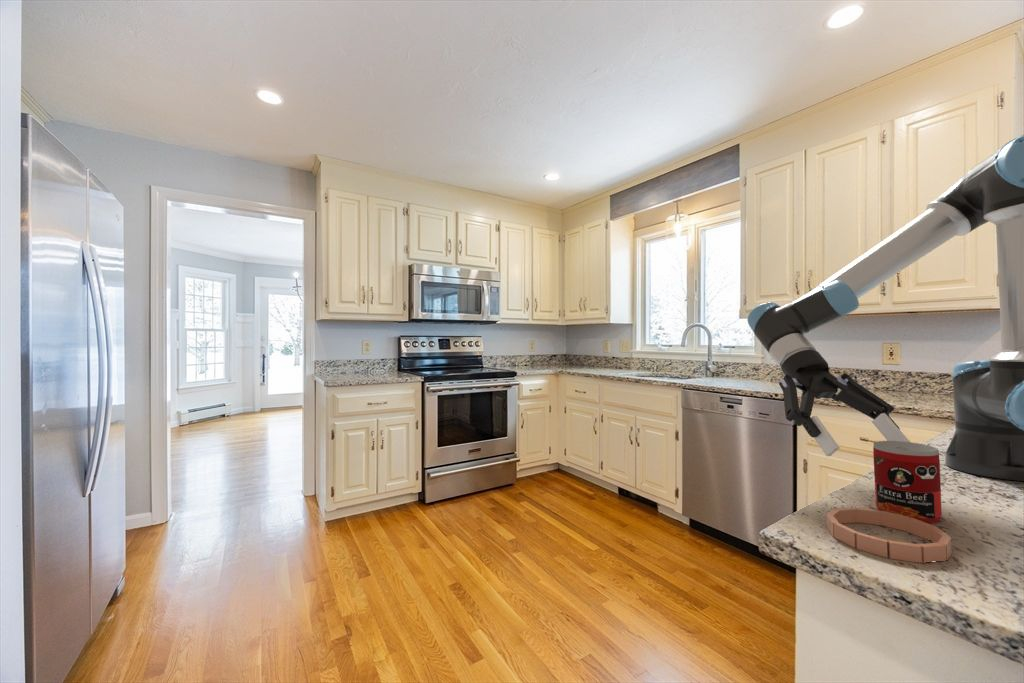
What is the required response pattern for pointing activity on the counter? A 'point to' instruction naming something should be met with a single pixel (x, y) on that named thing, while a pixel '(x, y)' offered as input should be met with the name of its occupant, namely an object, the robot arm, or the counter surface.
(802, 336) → the robot arm
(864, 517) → the ring
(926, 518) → the canned food
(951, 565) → the counter surface
